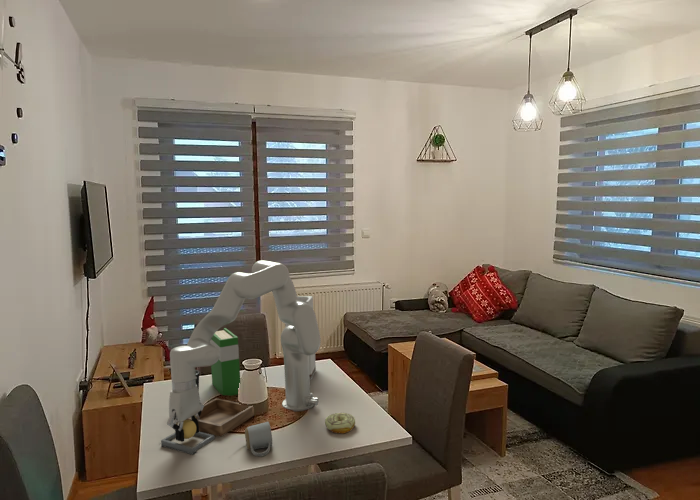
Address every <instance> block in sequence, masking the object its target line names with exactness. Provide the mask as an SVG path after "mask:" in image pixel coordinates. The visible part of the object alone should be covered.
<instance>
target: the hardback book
mask: <svg viewBox="0 0 700 500" xmlns="http://www.w3.org/2000/svg"><path fill="white" fill-rule="evenodd" d="M209 343H211V344H213V345H215V346H216V347H217V348H218V349H219V351H220V357H219V360H218V361H217V362H216V363H215V364H213V365H211V366H210V367H211V368H210V369H211V384H212V386H213V387H214V388H215V390H217V392H218V393H219V394H220V395H222V396H223V397H224V396H230V397H231V396H236V395H239V394H238V388H239V383H240V384H241V371H240V355H239V354H240V352H239V351H240V350H239V349H240V348H239V337H238V336H237V335H236V334H234V333H233V332H232V331H231V330H229V329H227V327H224V328H223V330H217V331H216V332H215V334H214V335H213V337H212V338H211V340H210V342H209Z"/></svg>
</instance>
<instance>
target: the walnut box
mask: <svg viewBox="0 0 700 500" xmlns="http://www.w3.org/2000/svg"><path fill="white" fill-rule="evenodd" d="M239 403H240V402H236V401H233V400H226V399H223V398H214V399H212V400H210V401H208V402H206V403H205V404H203V405H204V408H203V410H202V411H201V415H200V420H199V421H198V423H199V432H203V433H207V434H211V435H214V436H216V437H219V438H220V437H223V436H224V435H226V434H228V433H229V432H231V431H232V430H234V429H236V428H237V427H238V426H240V425H242V424H243V423H246V421H248V420H250V419H251V418H253V417H254V416H255V407H253V406H254V405H252V406H248V408H246V409H245V410H243V411H241V412H240V408H241V404H239ZM186 420H192V419H191V417H190V418H188V419H186Z"/></svg>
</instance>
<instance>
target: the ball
mask: <svg viewBox="0 0 700 500" xmlns="http://www.w3.org/2000/svg"><path fill="white" fill-rule="evenodd" d="M182 429H183V430H184V440H188V439H190V438H193V437H194V436H195V435H194V434H195V433H196V424H195V423H194V422H193V421H191V420H184V421H183V426H182Z"/></svg>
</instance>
